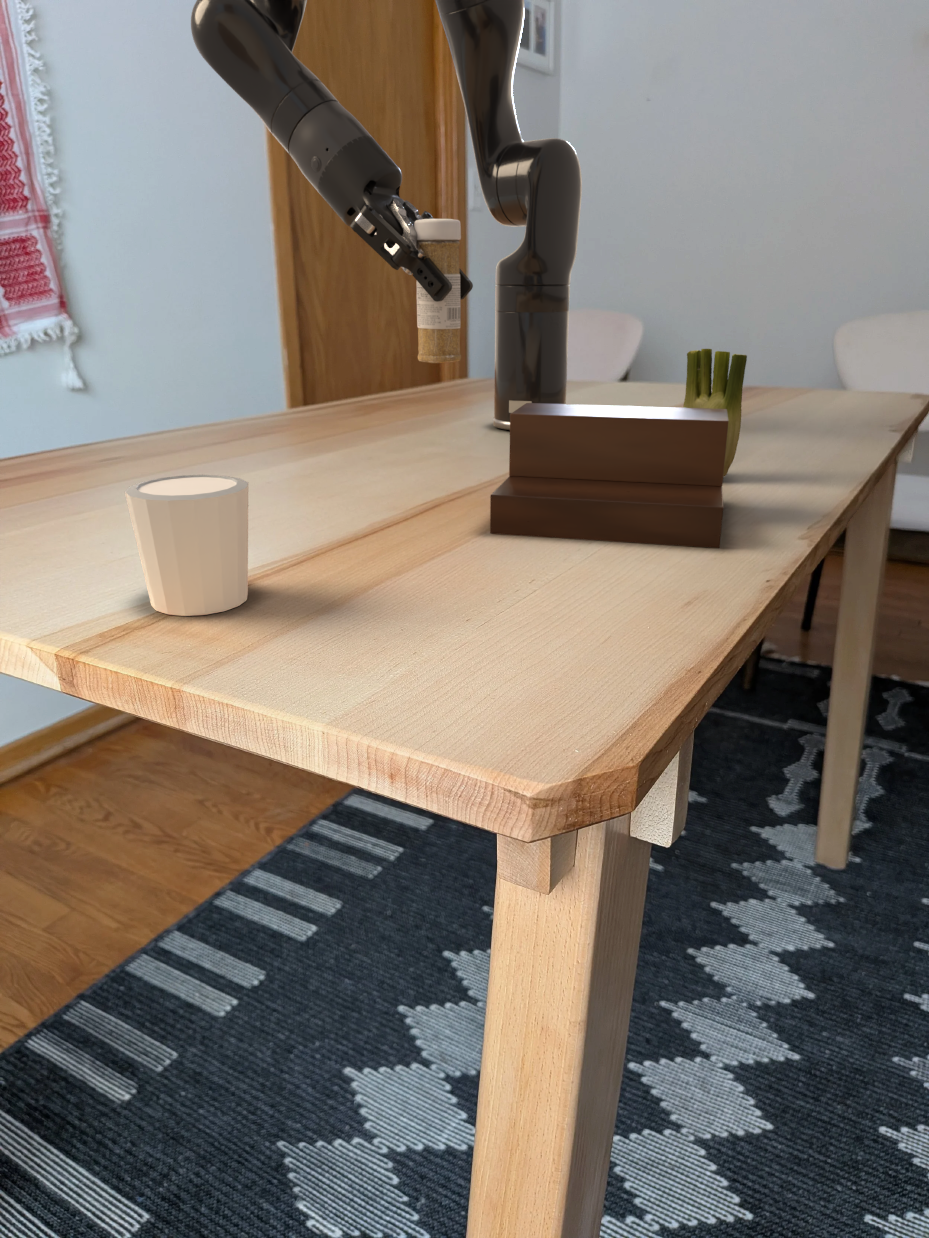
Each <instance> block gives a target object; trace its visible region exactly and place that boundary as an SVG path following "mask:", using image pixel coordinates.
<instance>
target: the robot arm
mask: <svg viewBox="0 0 929 1238" xmlns="http://www.w3.org/2000/svg"><path fill="white" fill-rule="evenodd" d="M434 1H435V4H436V9H437V11H438V14H439V18H440V22H441V24H442V25H441V26H442V28H443V30H444V34H445V37H446V40H447V43H448V47H449V50H450V54H451V59H452V62H453V65H454V69H455V74H456V77H457V81H458V85H459V89H460V93H461V98H462V101H463V105H464V109H465V113H466V119H467V124H468V128H469V135H470V139H471V145H472V150H473V154H474V160H475V166H476V167H475V168H476V172H477V176H478V181H479V187H480V189H481V194H482V198H483V200H484V203H485V205H486V208H487V209H488V212H489V213H490V215H491V216H492V218H493V219H494V220H495V221H496V222H497V223H499V224H500V225H502V226H505V227H512V228H515V227H516V228H517V227H518V228H519V227H525V231H524V237H523V239H522V241H521V243H520V245H519V246H518V247H517V248H516V249H515V250H514V251H512V253H510V254H508V255H507V256H505V257H503V258H501V259H500V260H499V261H498V262H497V264H496V267H495V282H494V283H495V284H494V285H495V287H494V288H495V289H494V291H495V295H494V296H495V297H494V395H493V398H494V399H493V400H494V402H493V403H494V404H493V406H494V407H493V408H494V409H493V418H492V419H493V420H492V425H493V427H495V428H498V429H502V430H508V431H510V414H511V413H512V412H514V411H515V410H517V409H518V408H520V407H521V406H523V405H524V404H526V403H543V404H567V387H568V385H567V381H568V358H569V357H568V353H569V329H570V325H569V324H570V299H571V298H570V295H571V286H570V285H571V278H572V277H571V276H572V270H573V268H574V265H575V263H576V258H577V254H578V253H577V252H578V241H579V230H580V229H579V228H580V217H581V207H582V197H583V196H582V195H583V194H582V193H583V178H582V168H581V163H580V159H579V157H578V154H577V151H576V150H575V148H574V147H573V145H571V143H570V142H568V141H567V140H565V139H562V138H556V137H551V138H550V137H549V138H540V139H534V140H525V141H524V140H523V138H522V135H521V131H520V127H519V123H518V119H517V115H516V114H517V113H516V109H515V108H516V107H515V103H514V96H513V95H514V94H513V92H514V91H513V90H514V89H513V85H514V75H515V69H516V63H517V58H518V54H519V49H520V43H521V39H522V33H523V28H524V20H525V0H434ZM307 2H308V0H196V1H195V3H194V5H193V8H192V9H191V10H192V11H191V15H190V32H191V36H192V40H193V42H194V45H195V47H196V49H197V51H198V53H199V54H200V56H201V57H202V59H203V61H205V62H206V63H207V65H209V66H210V68H211V69H212V70H213V71H214V72H215V74H217V75H218V77H220V79H222V81H224V82H225V84H227V85H228V87H230V88H231V89H232V91H234V93H235V94H237V96H239V97H240V99H242V100H243V101H244V102H245V103H246V104H247V105H248V106H249V107H250V108H251V109H252V110H253V111H254V113H255V114H256V115H257V116H258V117H259V119H260V121H262V123H263V125H264V126H265V127H266V128H267V130H268V131H269V132H270V133H271V134H272V136H273V137H274V138H275V140H276V141H277V142H278V143H279V144H280V145H281V147H282V148H283V149H284V150H285V152H287V153H288V155H289V156H290V157H291V159H292V160H293V161H294V162H295V164H296V166H297V167H298V169H299V170H300V172H301V173H302V175H303V176H304V177H305V179H307V181H308V182H309V183H310V184H311V185H312V187H313V188H314V189H315V190H316V191H317V193H318V194H319V195H320V196H321V197H322V198H323V199H324V201H325V202H326V203H327V204H328V206H330V208H331V209H332V210H333V212H335V213H336V215H337V216H338V217H339V218H340V220H341V221H342V222H343V223H344V224H345V225H346V226H348V227H350V229H352V231H353V232H354V233H355V234H356V235H358V237H360V239H362V240H363V241H364V242H365V243H366V244H367V245H368V246H369V247H370V248H371V249H372V250H373V251H375V253H377V255H378V256H379V257H380V258H381V259H383V260H384V261H385V262H386V263H387V264H388V265H389V266H390V267H391V268H392V269H393V270H396V271H399V270H400V268H401V269H402V271H403V272H405V274H407V275H409V276H412V277H413V278H414V279H415V280H417V281H418V282H419V284H420V285H421V286H422V287H423V288H424V289H425V291H426V292H427V293H428V294H429V295H430V296H431V298H432V299H433V300H434V301H442V300H443V299H444V298H445V297H446V296H447V295H448V293H449V292H450V291H451V290H452V284H451V282H450V281H449V280H448V279H447V278H446V277H445V275H444V274H443V273H442V272H441V271H440V270H439V268H438V267H437V266H436V265H435V264H434V263H433V261H432V260H431V259H430V258H426V259H424V258H425V257H426V256H427V255H426V253H425V251H424V250H423V248H422V247H421V245H420V244H419V243H418V240H417V232H416V230H415V228H414V222H415V221H416V220H422V219H435V218H434V217H433V216H432V214H431V213H430V212H429V211H428V210H427V211H426V210H424V211H423V212H422V214H420V213H419V210H418V209H417V208H416V207H415V206H414V205H413V203H411V202H410V201H409V200H406V199H405V200H404V199H403V198H401V196H400V189H401V186H402V182H403V173H402V170H401V169H400V167H399V166H398V165H397V164H396V163H395V162H394V160H393V158H391V157H390V155H389V154H388V153H387V152H386V150H384V148H382V146H381V145H380V144H379V143H378V142H377V141H376V139H375V138H374V137H373V135H371V134H370V133H369V131H368V130H367V129H366V127H364V125H363V124H362V123H361V122H360V121H359V120H358V119H357V117H355V116H354V115H353V114H352V113H351V112H350V111H349V110H347V108H345V107H344V105H342V104H341V103H340V101H339V100H338V99H337V98H336V96H334V94H333V93H332V92H331V91H330V90H329V88H328V87H327V86H326V85H325V84H324V83H323V82H322V81H321V80H320V79H319V78H318V76H317V75H315V73H313V72H312V70H310V69H309V68H308V67H307V65H305V64H304V63H303V62H302V61H300V60H299V59H298V58H297V56H295V55H294V53H293V51H294V48H295V46H296V42H297V38H298V35H299V31H300V29H301V26H302V22H303V19H304V15H305V11H306V7H307ZM459 273H460V301H461V300H464V299H465V298H466V297H467V295H469V293H470V292H471V291H472V290H473V288H474V284H473V282H472V281H471V279H470V278H469V277H468V276H467V275H466V274H465V273H464V271H463V270H462V269H461V268H460V267H459ZM417 281H416V282H417Z"/></svg>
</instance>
